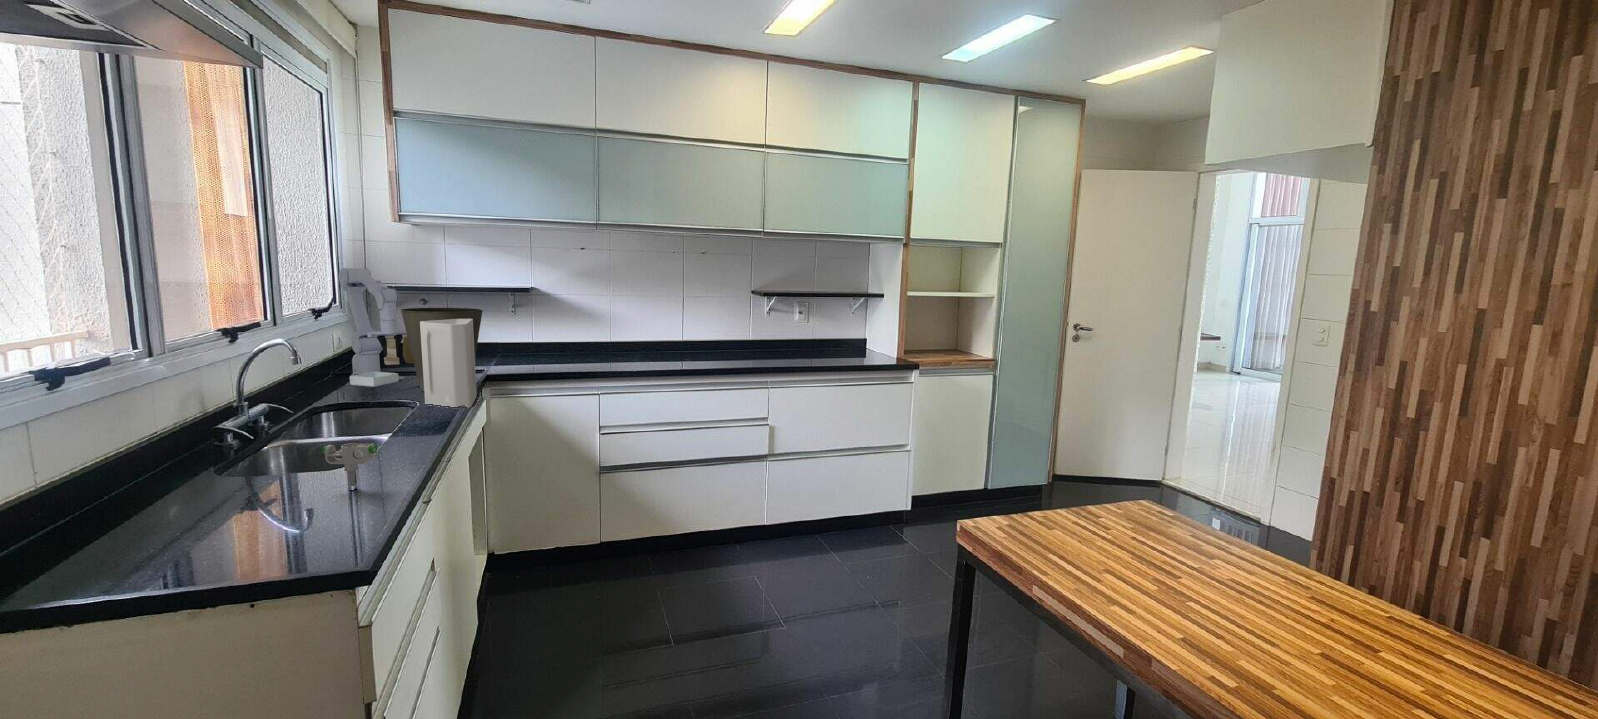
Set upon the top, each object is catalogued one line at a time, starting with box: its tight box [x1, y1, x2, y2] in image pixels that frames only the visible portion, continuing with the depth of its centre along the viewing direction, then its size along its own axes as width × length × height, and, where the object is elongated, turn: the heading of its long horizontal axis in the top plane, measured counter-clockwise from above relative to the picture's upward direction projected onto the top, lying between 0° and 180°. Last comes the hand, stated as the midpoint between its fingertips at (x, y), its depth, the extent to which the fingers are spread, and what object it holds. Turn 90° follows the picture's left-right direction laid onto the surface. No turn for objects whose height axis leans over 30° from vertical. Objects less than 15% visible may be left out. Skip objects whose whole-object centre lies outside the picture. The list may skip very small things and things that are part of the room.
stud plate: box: [398, 375, 409, 380], centre depth 259 cm, size 8×8×3 cm
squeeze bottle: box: [402, 335, 414, 365], centre depth 297 cm, size 8×8×18 cm
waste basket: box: [400, 307, 484, 392], centre depth 243 cm, size 27×20×30 cm
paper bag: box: [420, 319, 477, 409], centre depth 222 cm, size 19×15×28 cm
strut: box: [383, 337, 400, 366], centre depth 257 cm, size 4×4×10 cm
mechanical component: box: [322, 442, 378, 486], centre depth 141 cm, size 3×10×10 cm, turn 95°
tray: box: [349, 371, 400, 388], centre depth 248 cm, size 11×11×4 cm
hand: (391, 354), depth 257 cm, fingers closed on strut, 3 cm apart
